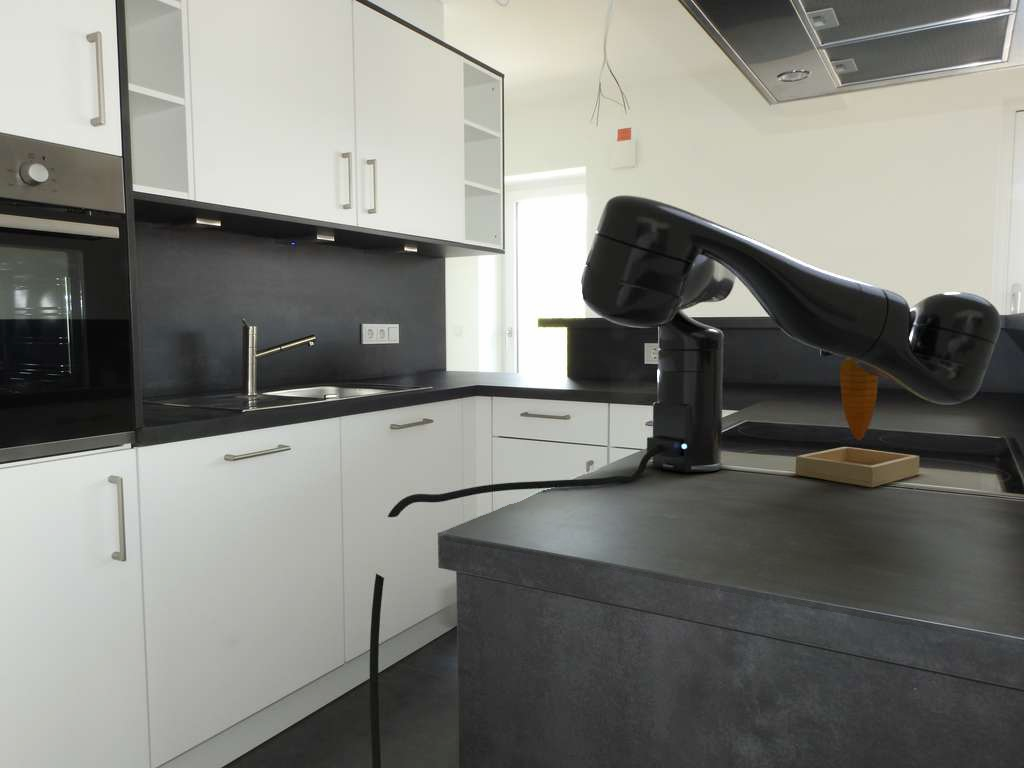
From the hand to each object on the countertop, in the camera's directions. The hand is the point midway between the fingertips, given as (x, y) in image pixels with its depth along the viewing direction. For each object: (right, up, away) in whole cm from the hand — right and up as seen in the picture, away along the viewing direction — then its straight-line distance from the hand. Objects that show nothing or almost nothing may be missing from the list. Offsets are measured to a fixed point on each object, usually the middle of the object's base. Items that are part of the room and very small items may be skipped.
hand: (856, 345), depth 101 cm
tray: (-1, -18, -1) cm, 18 cm away
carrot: (-1, -13, -2) cm, 13 cm away
